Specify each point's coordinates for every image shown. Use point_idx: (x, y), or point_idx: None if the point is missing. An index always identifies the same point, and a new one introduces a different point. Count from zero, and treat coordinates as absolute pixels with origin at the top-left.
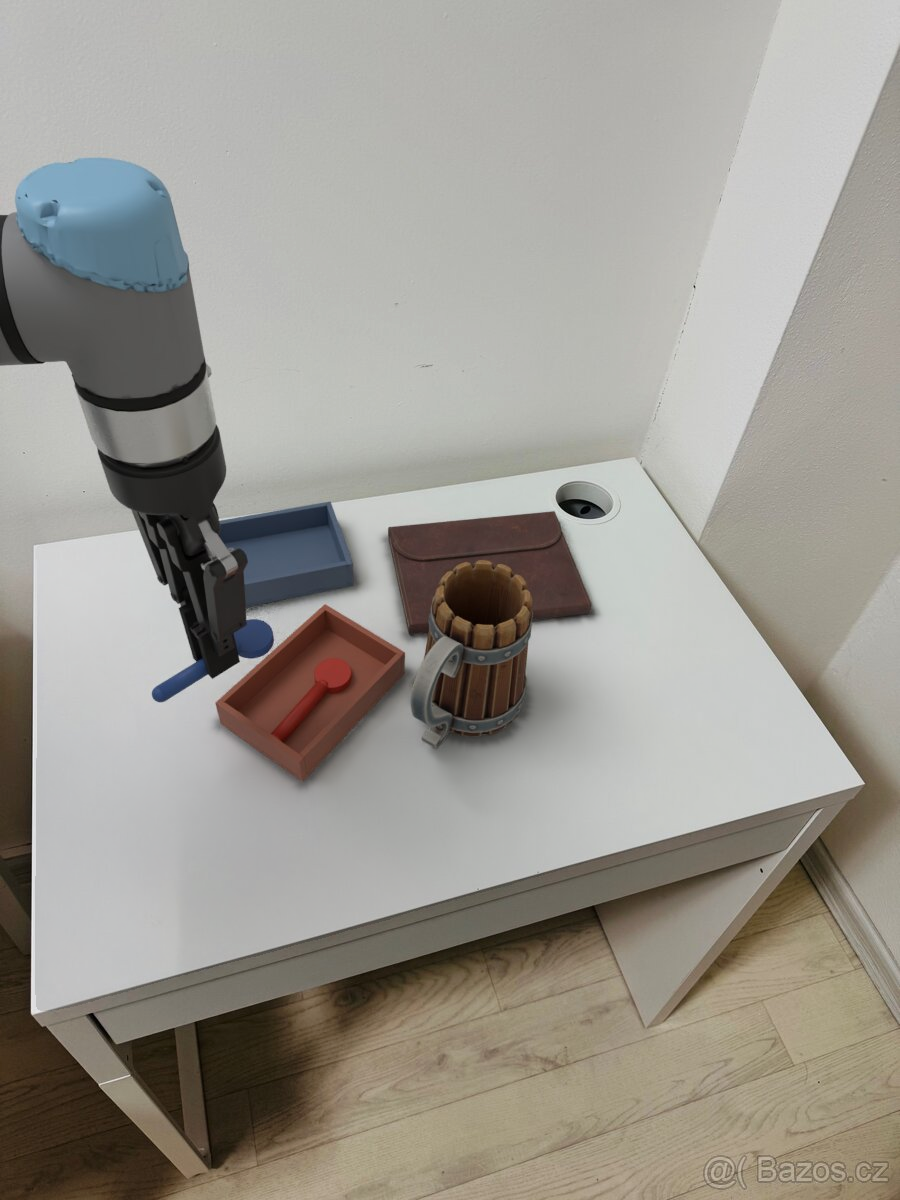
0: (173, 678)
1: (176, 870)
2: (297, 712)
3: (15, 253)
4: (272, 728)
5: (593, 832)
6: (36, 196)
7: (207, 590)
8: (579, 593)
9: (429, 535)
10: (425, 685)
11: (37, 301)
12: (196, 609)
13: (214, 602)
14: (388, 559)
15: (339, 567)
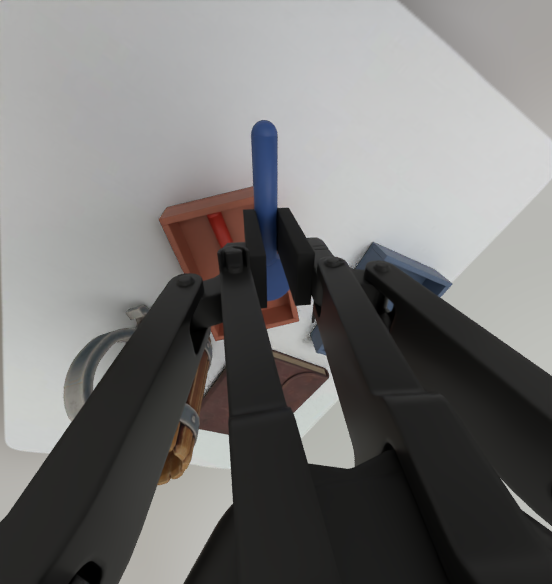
0: (268, 166)
1: (130, 26)
2: (224, 245)
3: None
4: (231, 218)
5: (19, 345)
6: None
7: (110, 431)
8: (199, 426)
9: (302, 391)
10: (69, 386)
11: None
12: (245, 292)
13: (89, 403)
14: (311, 360)
15: (321, 344)
